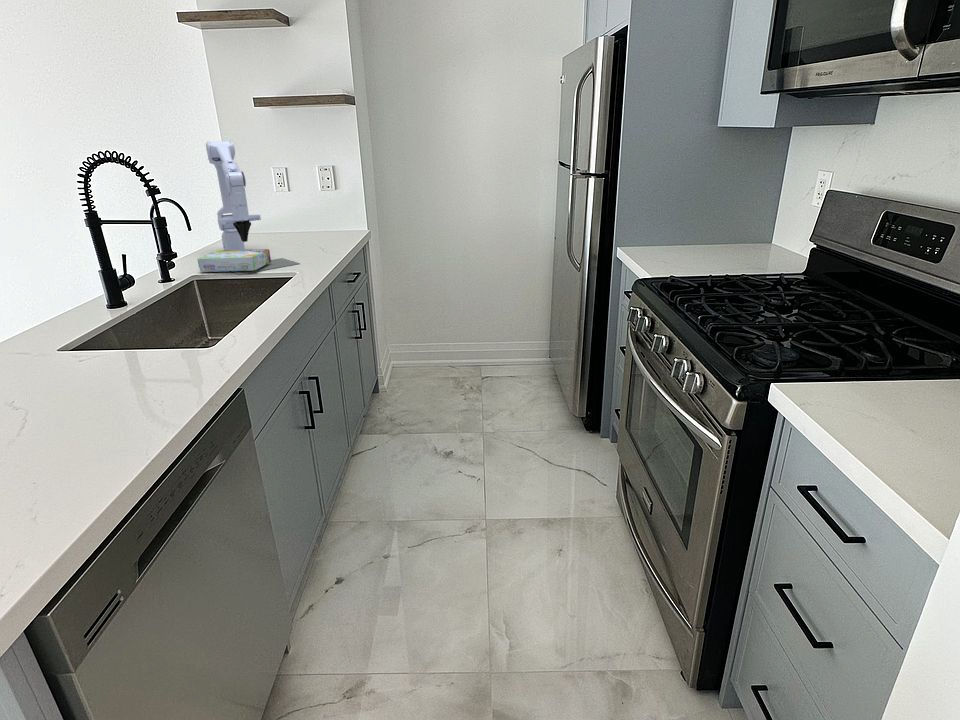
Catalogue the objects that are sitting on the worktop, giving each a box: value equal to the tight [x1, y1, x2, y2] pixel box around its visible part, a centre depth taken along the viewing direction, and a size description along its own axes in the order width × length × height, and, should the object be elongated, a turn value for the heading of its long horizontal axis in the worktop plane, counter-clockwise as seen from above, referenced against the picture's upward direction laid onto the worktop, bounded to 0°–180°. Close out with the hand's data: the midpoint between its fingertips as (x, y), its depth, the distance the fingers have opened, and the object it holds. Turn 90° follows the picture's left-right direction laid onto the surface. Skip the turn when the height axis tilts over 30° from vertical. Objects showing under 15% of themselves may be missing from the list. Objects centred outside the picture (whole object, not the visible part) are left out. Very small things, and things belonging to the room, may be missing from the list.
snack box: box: [197, 248, 272, 273], centre depth 231 cm, size 21×6×15 cm
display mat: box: [230, 257, 301, 276], centre depth 235 cm, size 14×24×1 cm, turn 134°
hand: (244, 241), depth 238 cm, fingers closed
